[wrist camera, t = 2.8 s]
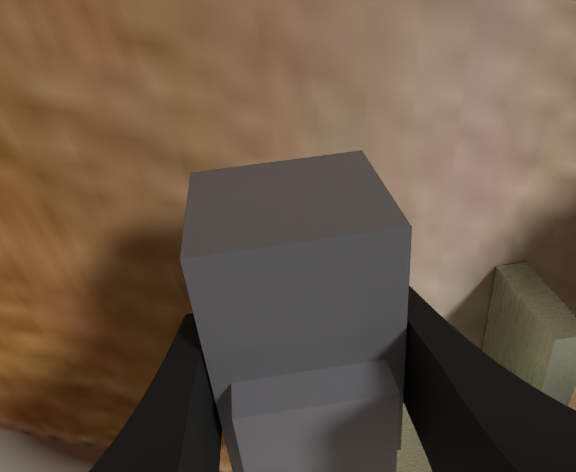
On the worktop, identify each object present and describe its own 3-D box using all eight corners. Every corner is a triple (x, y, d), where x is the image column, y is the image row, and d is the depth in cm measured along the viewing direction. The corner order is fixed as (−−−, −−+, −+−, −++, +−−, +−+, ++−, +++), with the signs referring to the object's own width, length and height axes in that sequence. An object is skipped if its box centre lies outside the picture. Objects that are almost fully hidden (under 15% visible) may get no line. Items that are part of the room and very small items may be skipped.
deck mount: (526, 261, 24) (591, 334, 20) (498, 393, 29) (545, 473, 25) (221, 306, 23) (221, 391, 19) (248, 432, 28) (253, 522, 24)
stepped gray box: (361, 150, 13) (430, 255, 9) (364, 344, 17) (413, 485, 12) (190, 172, 13) (175, 291, 9) (231, 365, 16) (234, 514, 12)
